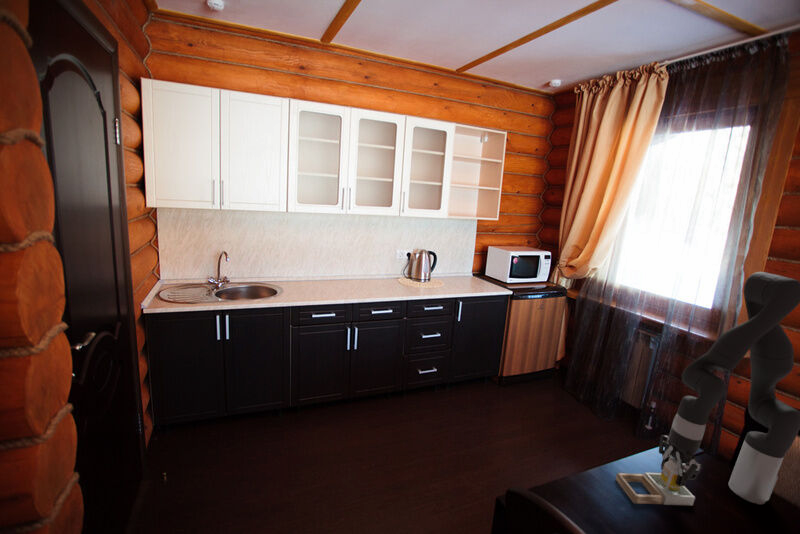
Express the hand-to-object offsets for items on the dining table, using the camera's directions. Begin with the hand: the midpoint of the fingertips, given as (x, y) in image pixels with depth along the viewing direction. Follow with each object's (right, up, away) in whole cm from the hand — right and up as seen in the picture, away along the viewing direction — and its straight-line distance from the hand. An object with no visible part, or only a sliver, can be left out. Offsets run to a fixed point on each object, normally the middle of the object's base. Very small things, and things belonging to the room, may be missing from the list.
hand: (671, 477), depth 118 cm
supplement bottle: (0, -4, +1) cm, 4 cm away
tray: (-1, -6, +1) cm, 6 cm away
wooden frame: (-10, -5, +1) cm, 11 cm away
